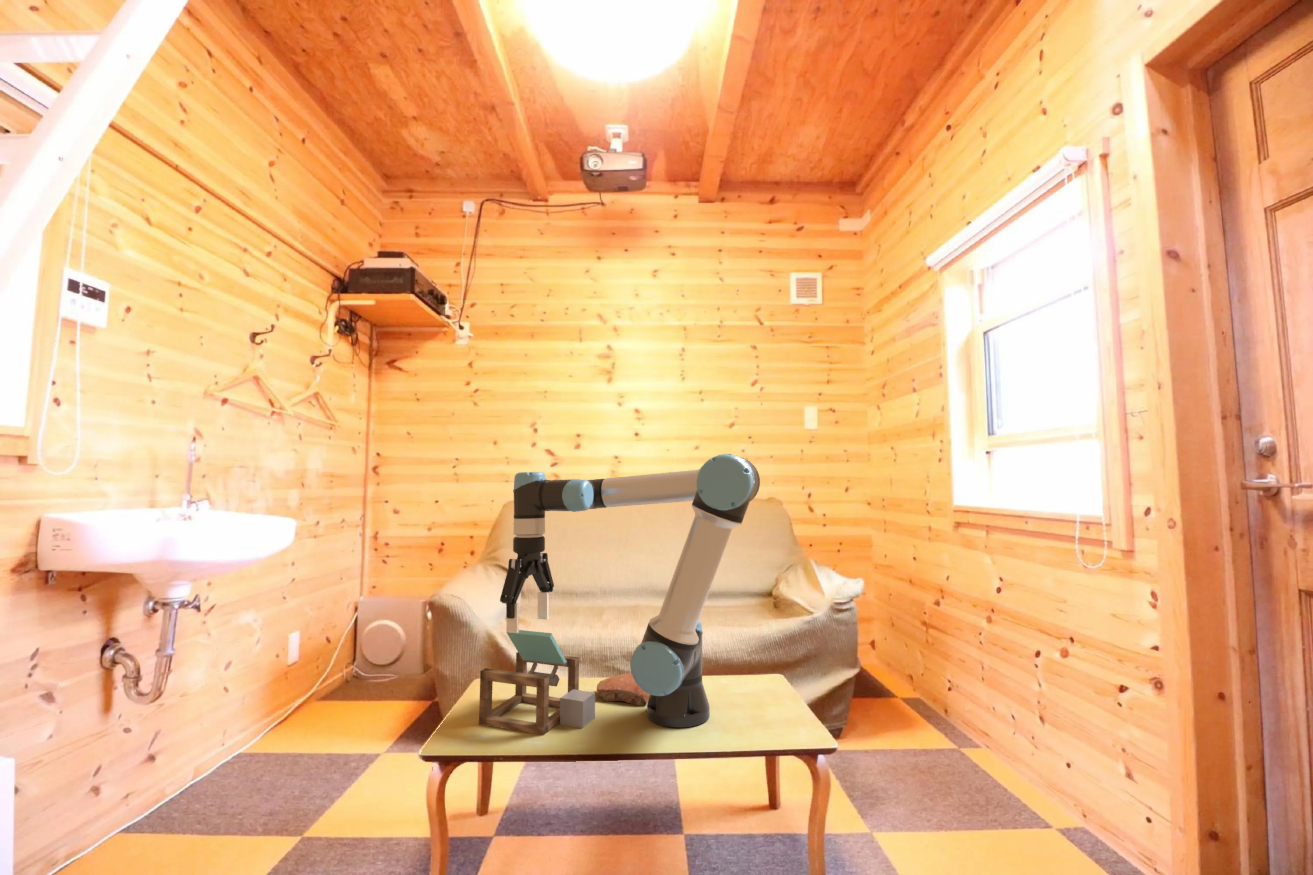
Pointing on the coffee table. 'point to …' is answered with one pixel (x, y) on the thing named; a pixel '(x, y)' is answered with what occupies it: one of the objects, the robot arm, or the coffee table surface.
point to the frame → (523, 696)
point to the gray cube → (577, 708)
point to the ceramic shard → (622, 690)
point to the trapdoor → (539, 651)
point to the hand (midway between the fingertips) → (528, 625)
